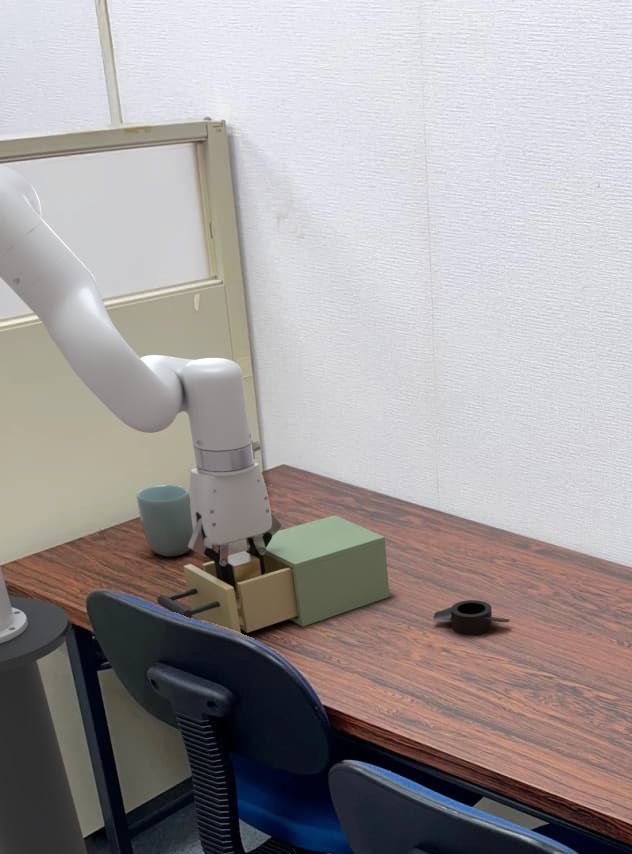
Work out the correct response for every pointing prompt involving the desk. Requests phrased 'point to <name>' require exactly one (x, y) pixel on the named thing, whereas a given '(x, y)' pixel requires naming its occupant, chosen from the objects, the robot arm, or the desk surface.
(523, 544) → the desk surface
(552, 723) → the desk surface
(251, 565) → the block
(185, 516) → the cup
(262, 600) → the drawer
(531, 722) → the desk surface
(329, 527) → the box
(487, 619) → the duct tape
